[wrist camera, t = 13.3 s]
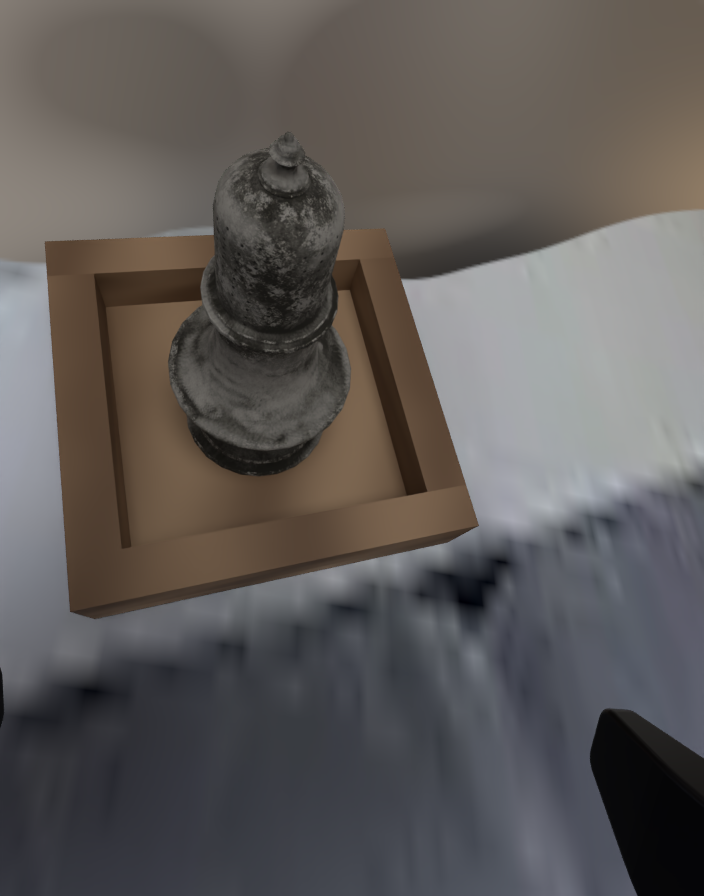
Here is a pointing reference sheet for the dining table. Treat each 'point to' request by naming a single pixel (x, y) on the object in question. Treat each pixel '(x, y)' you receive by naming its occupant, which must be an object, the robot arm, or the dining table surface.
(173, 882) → the dining table surface
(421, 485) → the walnut tray
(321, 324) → the stone chess piece
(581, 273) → the dining table surface
